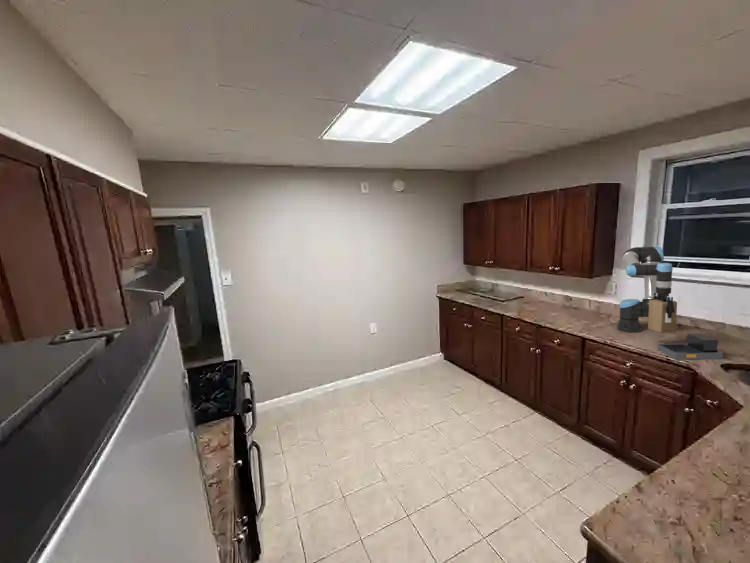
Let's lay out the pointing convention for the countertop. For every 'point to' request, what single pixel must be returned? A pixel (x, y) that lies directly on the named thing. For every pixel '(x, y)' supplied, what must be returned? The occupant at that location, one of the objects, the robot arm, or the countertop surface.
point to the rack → (693, 348)
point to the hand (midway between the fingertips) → (662, 319)
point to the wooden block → (661, 317)
